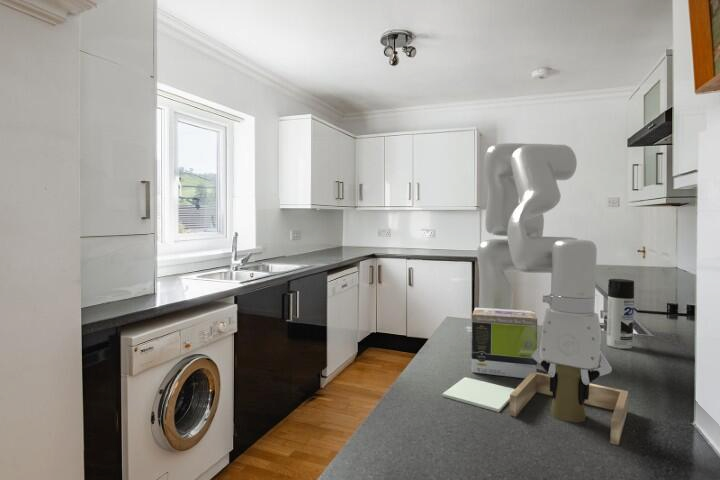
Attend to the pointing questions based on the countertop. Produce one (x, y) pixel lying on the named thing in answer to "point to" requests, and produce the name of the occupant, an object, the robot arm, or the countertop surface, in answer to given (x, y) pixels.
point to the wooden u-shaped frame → (597, 397)
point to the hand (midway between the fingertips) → (568, 398)
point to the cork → (567, 395)
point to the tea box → (504, 342)
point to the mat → (480, 394)
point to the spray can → (620, 313)
